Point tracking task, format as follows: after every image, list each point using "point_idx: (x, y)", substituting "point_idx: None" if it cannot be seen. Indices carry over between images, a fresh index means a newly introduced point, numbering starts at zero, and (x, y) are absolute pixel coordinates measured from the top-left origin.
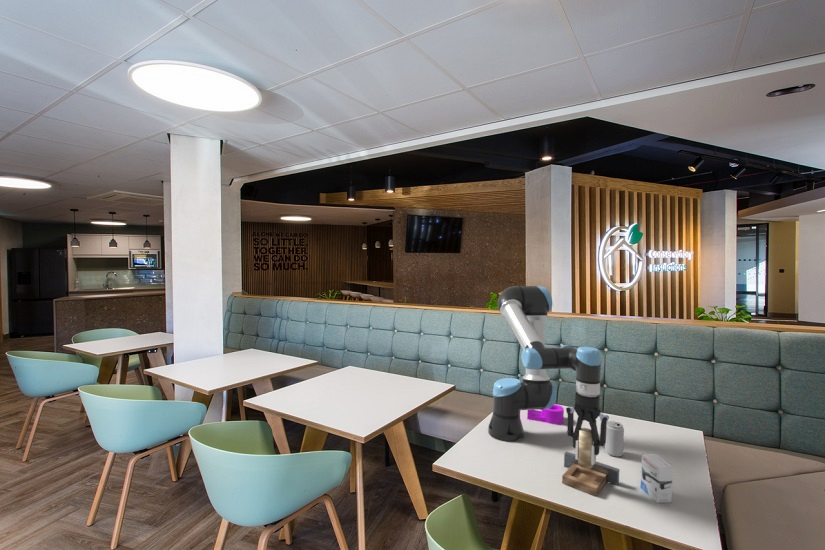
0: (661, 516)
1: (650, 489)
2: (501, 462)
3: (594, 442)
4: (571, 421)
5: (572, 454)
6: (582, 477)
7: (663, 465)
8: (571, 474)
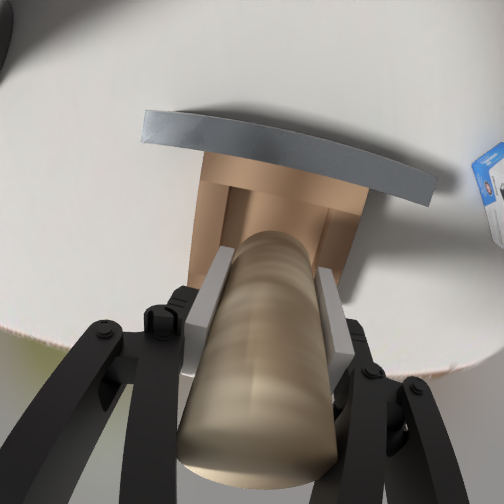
0: (477, 302)
1: (499, 223)
2: (17, 244)
3: (334, 421)
4: (71, 482)
5: (182, 126)
6: (262, 225)
7: None
8: None
